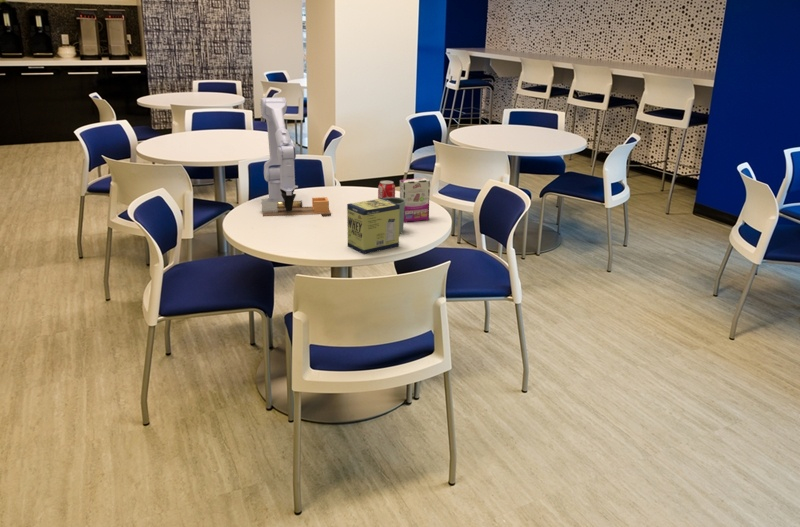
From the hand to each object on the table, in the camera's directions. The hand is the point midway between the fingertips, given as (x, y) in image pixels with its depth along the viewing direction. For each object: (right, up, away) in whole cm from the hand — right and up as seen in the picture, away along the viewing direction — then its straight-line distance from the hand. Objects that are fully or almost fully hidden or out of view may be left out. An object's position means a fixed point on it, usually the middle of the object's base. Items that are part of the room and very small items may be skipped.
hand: (288, 208), depth 276 cm
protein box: (+36, -16, -36) cm, 53 cm away
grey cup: (+42, -10, -18) cm, 47 cm away
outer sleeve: (-7, -1, -1) cm, 8 cm away
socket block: (+13, -1, +3) cm, 13 cm away
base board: (+3, -2, +1) cm, 4 cm away
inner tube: (-2, 0, 0) cm, 3 cm away
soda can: (+39, 0, +9) cm, 41 cm away
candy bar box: (+51, -5, -4) cm, 51 cm away
